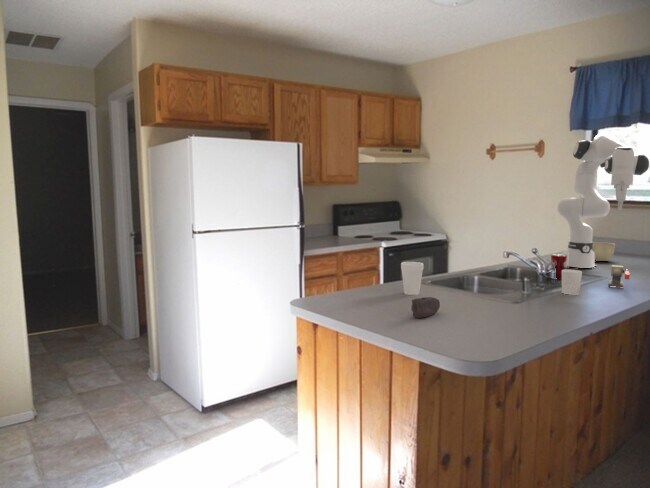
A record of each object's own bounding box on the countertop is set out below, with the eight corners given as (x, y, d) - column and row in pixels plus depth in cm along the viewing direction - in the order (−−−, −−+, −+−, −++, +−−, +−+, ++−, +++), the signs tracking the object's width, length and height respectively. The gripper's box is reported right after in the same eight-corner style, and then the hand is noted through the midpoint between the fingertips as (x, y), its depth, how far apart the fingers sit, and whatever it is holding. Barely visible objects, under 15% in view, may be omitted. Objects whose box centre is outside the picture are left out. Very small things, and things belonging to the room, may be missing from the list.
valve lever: (624, 268, 228) (625, 273, 214) (628, 268, 227) (629, 274, 214) (624, 273, 228) (624, 279, 215) (628, 274, 227) (629, 279, 214)
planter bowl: (614, 260, 304) (616, 242, 303) (613, 264, 291) (615, 245, 289) (585, 258, 313) (586, 241, 312) (582, 261, 299) (584, 243, 298)
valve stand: (609, 283, 235) (610, 264, 234) (623, 284, 232) (624, 265, 231) (608, 287, 226) (610, 267, 225) (623, 288, 224) (624, 268, 223)
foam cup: (397, 294, 212) (398, 264, 210) (404, 290, 220) (405, 261, 218) (419, 296, 207) (419, 266, 206) (425, 292, 216) (426, 262, 214)
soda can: (550, 279, 244) (552, 255, 242) (548, 277, 251) (550, 253, 249) (566, 280, 242) (568, 256, 240) (564, 277, 249) (565, 254, 247)
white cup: (585, 295, 211) (586, 271, 209) (571, 296, 208) (572, 273, 206) (569, 291, 218) (571, 268, 217) (556, 292, 215) (557, 270, 214)
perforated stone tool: (433, 311, 185) (434, 292, 184) (445, 314, 181) (445, 295, 180) (406, 318, 175) (406, 298, 174) (417, 321, 171) (418, 301, 170)
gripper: (630, 181, 226) (628, 211, 228) (629, 181, 243) (627, 209, 245) (614, 181, 229) (612, 211, 231) (614, 181, 247) (612, 209, 248)
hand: (619, 210), depth 238 cm, fingers closed
